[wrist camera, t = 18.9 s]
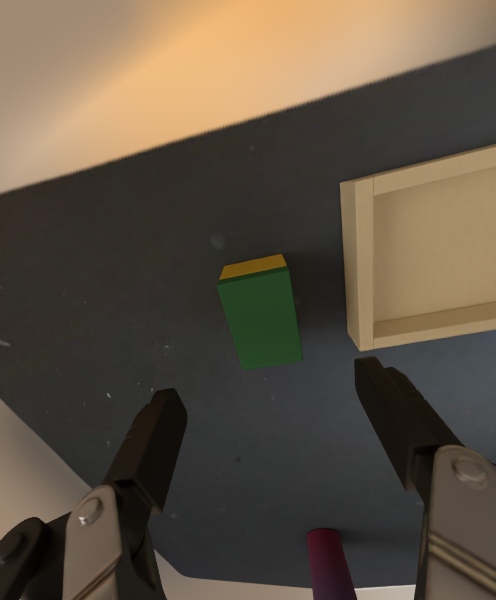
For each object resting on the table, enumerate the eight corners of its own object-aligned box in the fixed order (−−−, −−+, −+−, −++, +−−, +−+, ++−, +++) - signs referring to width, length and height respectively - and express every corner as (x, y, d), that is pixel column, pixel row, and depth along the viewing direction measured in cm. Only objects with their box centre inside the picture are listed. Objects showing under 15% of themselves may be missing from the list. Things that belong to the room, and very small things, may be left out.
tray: (347, 332, 20) (359, 351, 18) (339, 182, 15) (355, 181, 13) (554, 297, 18) (600, 313, 16) (625, 111, 13) (706, 93, 11)
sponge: (294, 330, 20) (303, 361, 16) (244, 339, 21) (242, 370, 17) (281, 253, 17) (289, 270, 13) (224, 265, 18) (216, 285, 14)
